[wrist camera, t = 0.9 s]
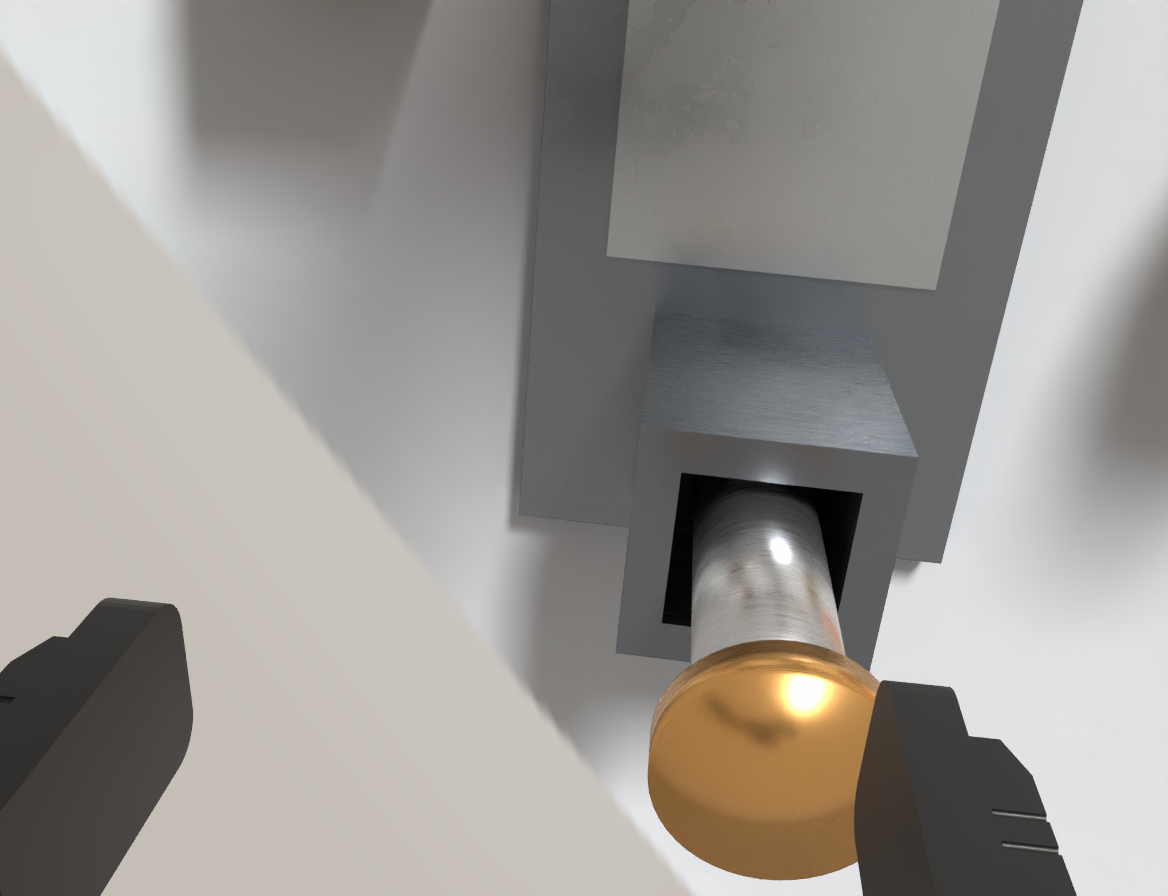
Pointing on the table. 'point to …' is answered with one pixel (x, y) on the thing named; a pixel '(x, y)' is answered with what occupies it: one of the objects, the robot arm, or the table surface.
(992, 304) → the grey assembly fixture
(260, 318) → the table surface
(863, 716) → the plunger
